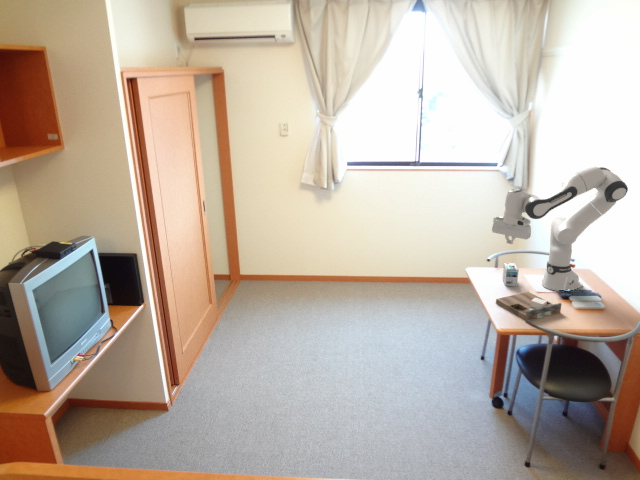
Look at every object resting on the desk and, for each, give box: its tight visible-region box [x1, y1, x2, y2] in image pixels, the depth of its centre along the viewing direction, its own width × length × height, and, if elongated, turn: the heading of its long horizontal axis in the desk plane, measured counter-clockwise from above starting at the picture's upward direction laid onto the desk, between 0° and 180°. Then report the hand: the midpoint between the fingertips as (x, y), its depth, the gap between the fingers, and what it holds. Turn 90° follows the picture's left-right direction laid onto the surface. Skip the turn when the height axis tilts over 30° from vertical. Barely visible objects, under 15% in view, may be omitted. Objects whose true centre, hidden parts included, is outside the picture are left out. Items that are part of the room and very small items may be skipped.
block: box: [530, 298, 547, 309], centre depth 243 cm, size 5×6×4 cm
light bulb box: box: [502, 262, 519, 287], centre depth 277 cm, size 11×7×11 cm, turn 168°
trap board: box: [495, 291, 562, 321], centre depth 247 cm, size 22×22×5 cm
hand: (509, 243), depth 258 cm, fingers closed
